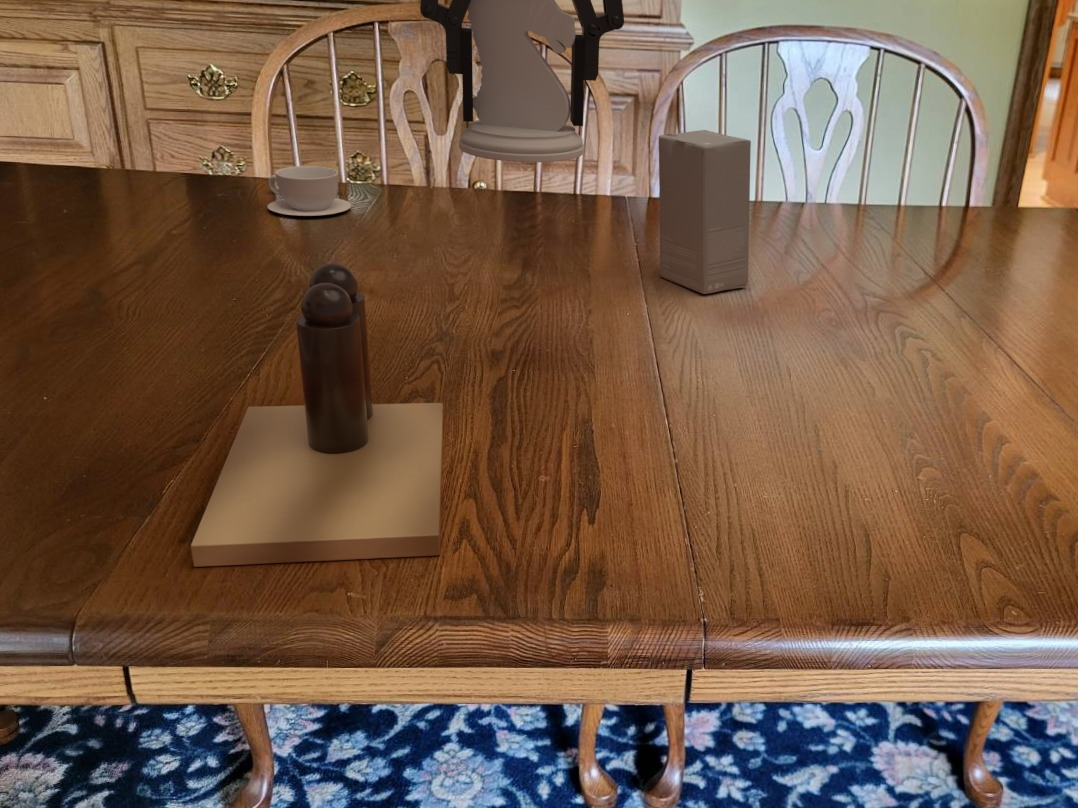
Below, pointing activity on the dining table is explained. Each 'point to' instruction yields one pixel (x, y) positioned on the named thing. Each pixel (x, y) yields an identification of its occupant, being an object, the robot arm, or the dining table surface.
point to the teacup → (307, 191)
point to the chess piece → (520, 84)
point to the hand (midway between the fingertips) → (522, 120)
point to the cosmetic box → (704, 210)
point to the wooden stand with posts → (328, 457)
